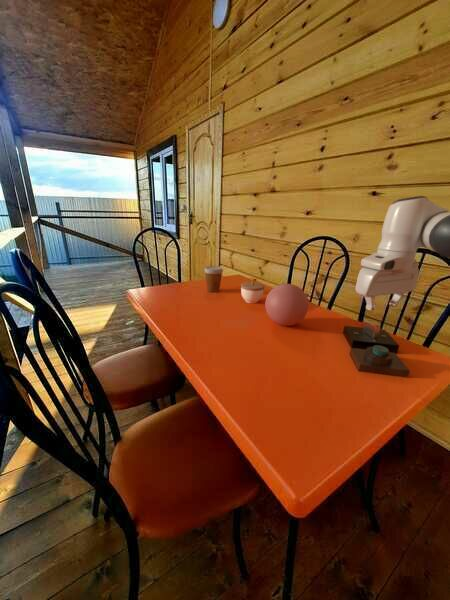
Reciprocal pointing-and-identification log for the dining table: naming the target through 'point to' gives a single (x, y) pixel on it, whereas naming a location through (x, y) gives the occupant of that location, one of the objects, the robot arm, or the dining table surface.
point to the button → (380, 351)
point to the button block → (378, 363)
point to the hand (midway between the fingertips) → (381, 307)
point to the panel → (369, 339)
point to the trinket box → (252, 291)
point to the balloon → (286, 304)
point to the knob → (371, 329)
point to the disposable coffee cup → (213, 278)
